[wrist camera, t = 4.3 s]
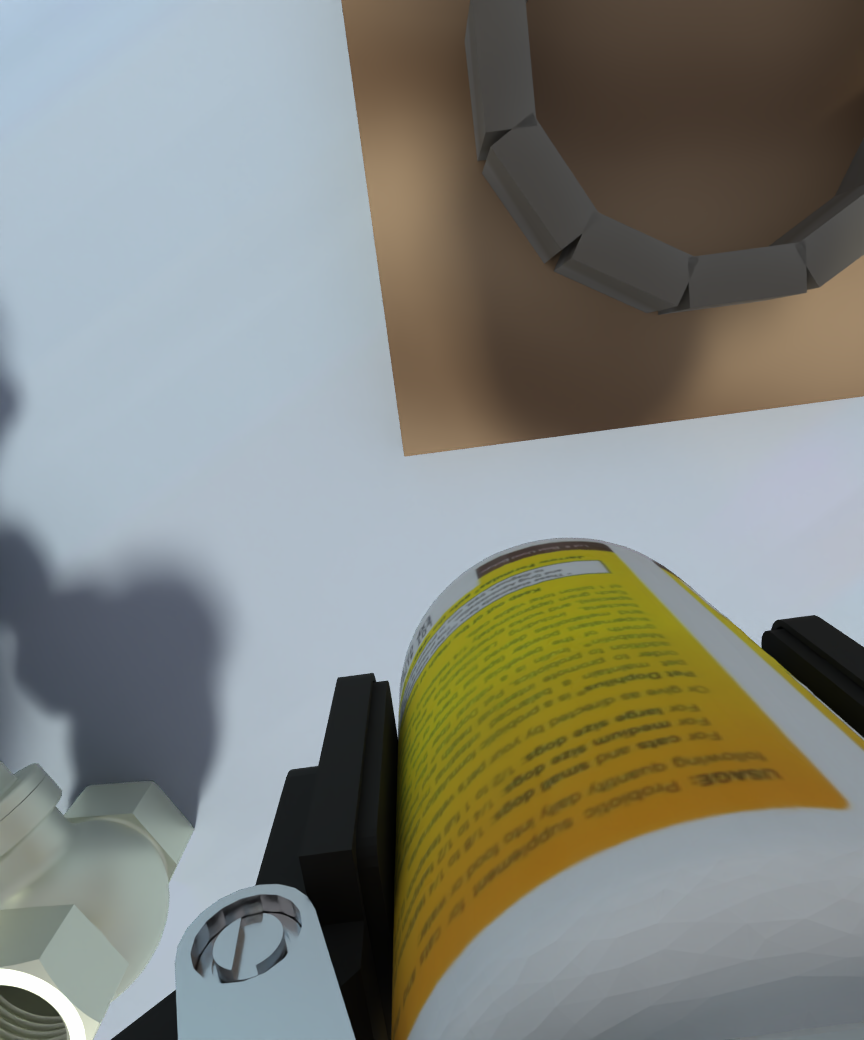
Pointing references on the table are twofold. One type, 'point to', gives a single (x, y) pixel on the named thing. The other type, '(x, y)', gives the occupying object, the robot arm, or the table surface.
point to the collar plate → (611, 209)
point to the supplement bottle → (616, 815)
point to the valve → (79, 898)
